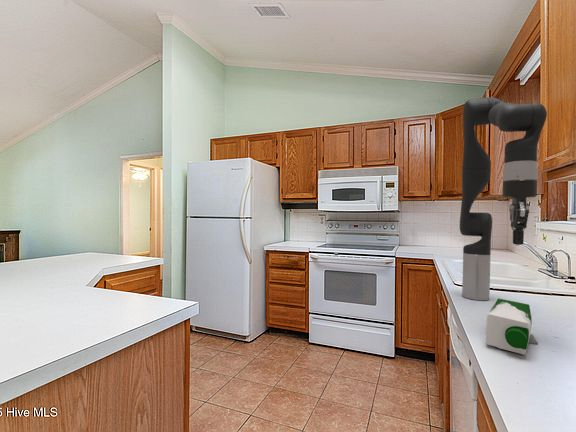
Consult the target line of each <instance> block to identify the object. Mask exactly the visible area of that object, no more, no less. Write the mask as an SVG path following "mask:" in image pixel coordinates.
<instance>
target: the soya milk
mask: <svg viewBox="0 0 576 432" xmlns="http://www.w3.org/2000/svg"><path fill="white" fill-rule="evenodd" d="M530 306H531V305H530V304H528V303H523V302H519V301H513V300H509V299H508V300H507V299H503V298H499V297H498V298H497V300H496V301H495V302H494V304H493V305H492V307H491V309H490V310H489V313H488V314H487V316H486V323H485V344H486V345H489V346H492V347H496V348H498V349H500V350H506V351H508V352H513V353H516V354H520V355H524V356H525V355H526V353H527V349H528V345H529V343H528V342H529V338H530V334H532V333H531V332H532V322H533V321H532V319H533V318H532V313H531V307H530Z"/></svg>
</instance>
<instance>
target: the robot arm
mask: <svg viewBox="0 0 576 432" xmlns="http://www.w3.org/2000/svg"><path fill="white" fill-rule="evenodd" d="M462 109H463V110H462V128H463V129H462V130H463V131H462V132H463V152H462V155H463V156H462V166H461V168H462V170H461V171H462V172H461V188H462V189H461V204H460V205H461V206H460V217H459V232H460V234H461V235H462V236H464V237H465V236H467V237H468V236H469V237H481V238H480V239H479V240H478V241H475V242H472V243H469V244H465V245H463V249H462V283H461V284H462V285H461V286H462V289H461V292H462V293H461V295H462V297H463V298H465V299H468V300H474V301H489V300H490V297H491V295H490V292H491V291H490V288H491V287H490V285H491V281H490V280H491V253H492V252H491V251H492V250H491V247H492V246H491V244H492V233H493V232H492V231H493V217H492V214H491V213H489V212H471V209H472V206H473V204H474V203H475V201H476V199H477V198H478V196H479V195H480V194H481V193H482V192H483V191H484V189H486V186H487V185H488V184H489V183H490V180H491V174H492V173H491V172H492V160H491V159H490V156H489V154H488V153H487V152H486V150H485V149H484V148H483V146H482V145H481V144H480V142H479V140H478V138H477V134H476V126H486V125H493V126H495V127H498V129H499V131H500V132H504V133H506V132H507V133H513V132H516V133H517V132H525V134H524V136H523V137H522V138H518V139H514V140H511V141H508V142H507V143H505V146H504V162H503V163H504V164H503V169H502V190H501V191H502V195H501V196H502V197H503V198H507V199H509V198H510V199H511V204H509V206H508V211H509V214H510V215H509V221H510V227H511V230H512V244H513V245H519V246H521V245H524V242H525V241H524V239H525V238H524V236H525V235H524V234H525V230H526V228H527V224H528V219H529V215H530V214H529V213H530V204H528V203H527V199H528V198H529V199H530V198H536V197H537V196H538V175H539V174H538V169H539V168H538V164H537V162H538V156H537V155H538V144H539V141H540V136H541V134H542V131H543V129H544V126H545V124H546V121H547V115H548V113H547V111H548V110H547V108H546V107H545V106H544V105H543V104H542V103H537V102H534V103H514V102H504V101H502V100H501V99H499V98H496V97H493V96H491V97H483V98H482V97H481V98H474V99H468V100H466V101H465V103H464V104H463V108H462Z"/></svg>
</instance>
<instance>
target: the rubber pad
mask: <svg viewBox="0 0 576 432" xmlns="http://www.w3.org/2000/svg"><path fill="white" fill-rule="evenodd" d="M538 343H539V342H538V341H537V339H536V338H535V336H534V334H532V333H530V338H529V342H528V344H533V345H538Z"/></svg>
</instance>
